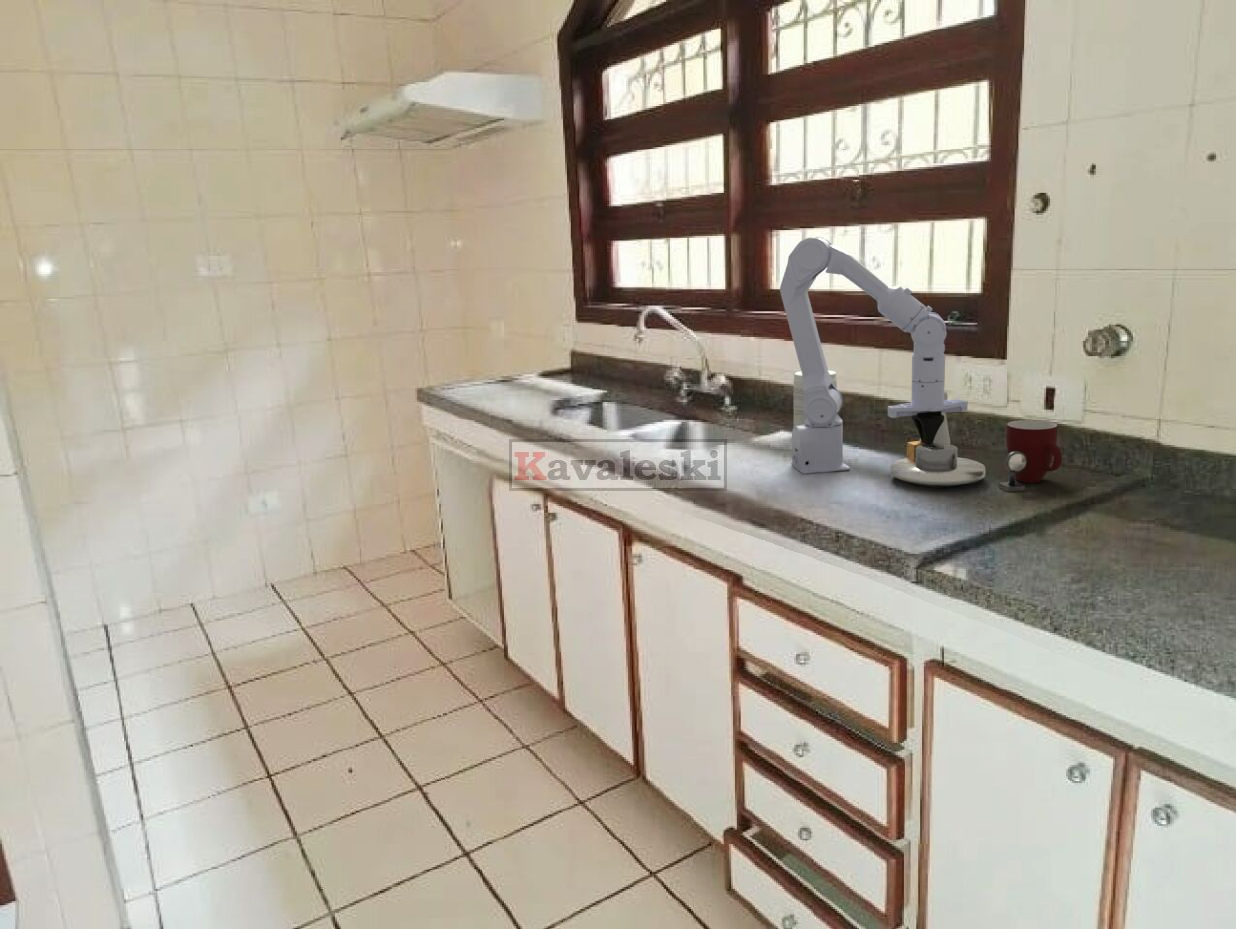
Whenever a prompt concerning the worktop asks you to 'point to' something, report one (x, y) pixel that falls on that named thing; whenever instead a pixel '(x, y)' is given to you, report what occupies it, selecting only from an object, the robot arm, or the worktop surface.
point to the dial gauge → (1014, 471)
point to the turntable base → (937, 485)
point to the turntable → (961, 475)
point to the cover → (936, 457)
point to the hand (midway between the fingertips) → (926, 451)
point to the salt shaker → (942, 429)
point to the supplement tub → (803, 397)
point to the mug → (1034, 447)
